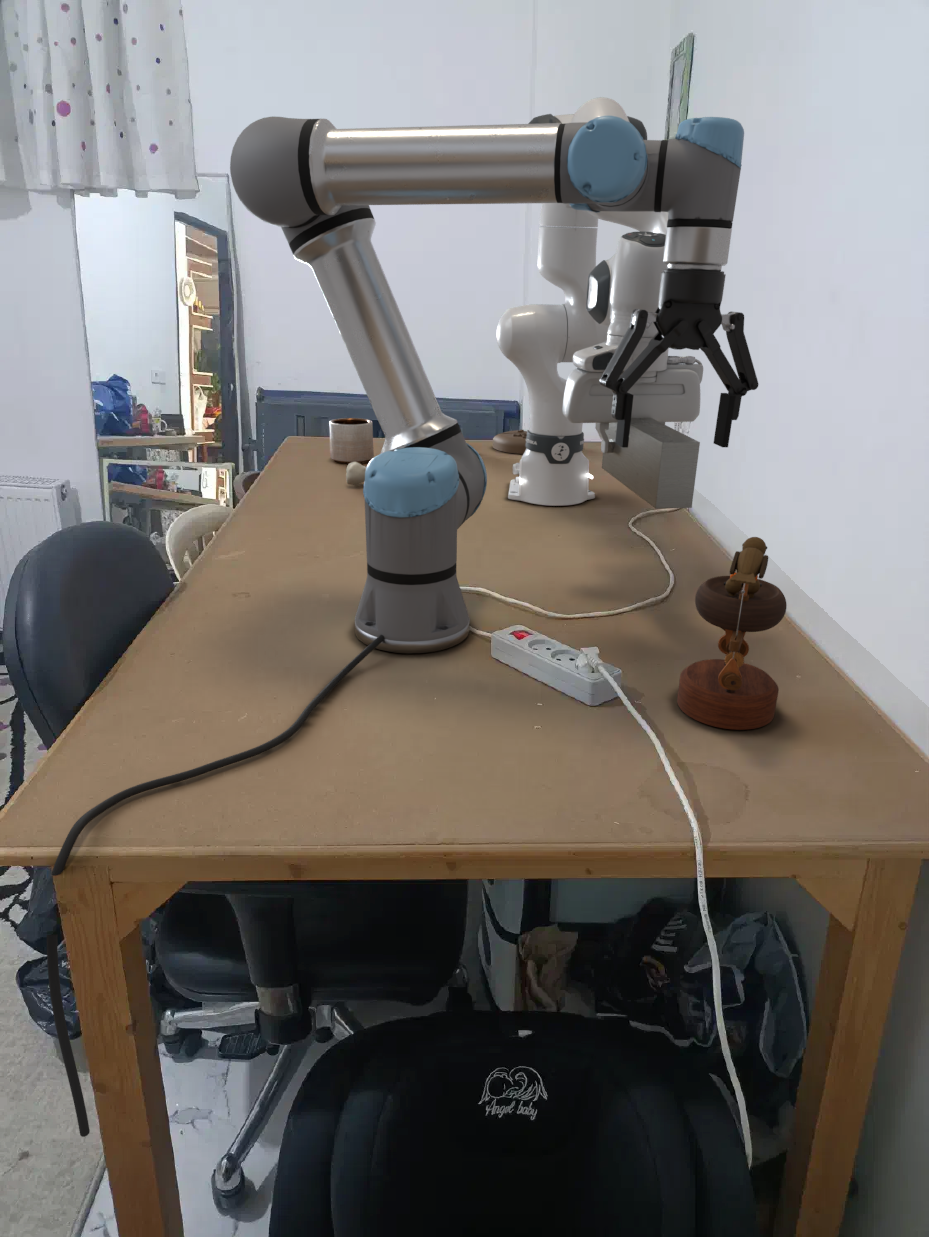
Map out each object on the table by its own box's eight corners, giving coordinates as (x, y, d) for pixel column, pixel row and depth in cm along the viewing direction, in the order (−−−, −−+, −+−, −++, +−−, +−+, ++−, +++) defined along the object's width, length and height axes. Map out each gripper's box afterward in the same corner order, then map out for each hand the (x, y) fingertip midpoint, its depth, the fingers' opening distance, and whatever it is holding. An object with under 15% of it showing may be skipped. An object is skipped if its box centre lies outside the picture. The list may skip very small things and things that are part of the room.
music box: (793, 740, 87) (809, 557, 80) (685, 741, 89) (691, 560, 81) (762, 676, 102) (773, 514, 94) (668, 677, 103) (672, 518, 95)
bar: (691, 507, 111) (700, 442, 108) (655, 508, 110) (662, 442, 107) (632, 467, 132) (637, 411, 129) (601, 467, 131) (606, 411, 128)
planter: (327, 456, 217) (325, 418, 214) (369, 454, 220) (368, 417, 217) (334, 465, 208) (332, 425, 204) (377, 463, 211) (376, 424, 207)
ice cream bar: (498, 463, 213) (499, 446, 211) (490, 442, 239) (491, 427, 237) (581, 463, 214) (582, 447, 212) (564, 443, 240) (565, 428, 238)
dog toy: (433, 479, 195) (433, 458, 193) (437, 486, 189) (437, 463, 187) (345, 481, 191) (344, 459, 190) (346, 488, 186) (345, 465, 184)
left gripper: (774, 271, 107) (747, 439, 115) (584, 264, 103) (570, 439, 111) (806, 272, 100) (775, 451, 108) (604, 264, 96) (587, 451, 104)
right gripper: (695, 353, 126) (684, 446, 131) (562, 353, 122) (556, 448, 128) (714, 358, 120) (701, 455, 125) (574, 358, 117) (568, 458, 122)
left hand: (671, 445), depth 109 cm, fingers open, 13 cm apart
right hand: (627, 452), depth 127 cm, fingers closed on bar, 5 cm apart
